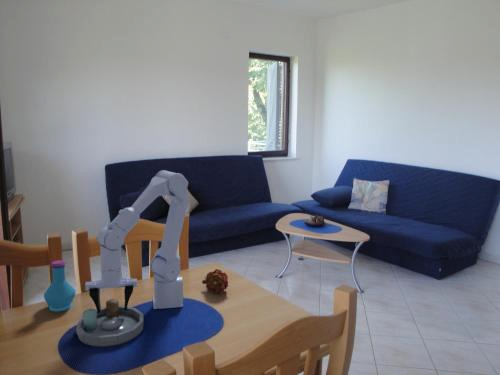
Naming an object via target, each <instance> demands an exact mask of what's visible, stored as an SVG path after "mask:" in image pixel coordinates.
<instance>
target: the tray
mask: <svg viewBox="0 0 500 375" xmlns="http://www.w3.org/2000/svg"><path fill="white" fill-rule="evenodd" d="M124 307H125V305H119V318H118V317H109V318H107V316H106V306H105V307H101V311H100V313H97V329H95V330H93V331H85V330H84V323H83V316H82V317H80V318H79V319H78V321H77V324H76V329H75V330H76V335H77V337H78V340H79V341H80V342H81V343H82V344H85V345H88V346H92V347H98V348H99V347H100V348H101V347H103V348H104V347H106V348H107V347H113V346H119V345H121V344H122V345H123V344H126V343H128V342H130V341H132V340H133V339H135V338H137V337H138V336H140V334H141V333H142V331H143V329H144V313H143V312H142V311H140V310H139V309H137V308H135V307H131V306H127V311H125V310H124Z"/></svg>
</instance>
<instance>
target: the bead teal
mask: <svg viewBox="0 0 500 375" xmlns="http://www.w3.org/2000/svg"><path fill="white" fill-rule="evenodd" d="M82 317H83V323H84V330H85V331H93V330H95V329H97V309H94V308H87V309H85V310H83V312H82Z"/></svg>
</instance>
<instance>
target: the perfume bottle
mask: <svg viewBox="0 0 500 375" xmlns="http://www.w3.org/2000/svg"><path fill="white" fill-rule="evenodd" d="M66 264H67V262H66V261H65V260H62V259H59V260H58V259H57V260H54V261H52V262H51V263H50V265H49V266H50V267H51V270H52V282H51V283H50V285H49V286H48V288H46V291H45V292H44V293H43V298H44V301H45V302H46V304H47V306H48V308H49V310H50V311H51V312H62V311H66V310H68V309H70V308H71V307H72V306H73V304H72V303H73V302H74V298H75V295H76V289H75V287H74V286H73V285H71V284H70V283H69V282H68V280H66Z"/></svg>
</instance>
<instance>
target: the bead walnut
mask: <svg viewBox="0 0 500 375" xmlns="http://www.w3.org/2000/svg"><path fill="white" fill-rule="evenodd" d="M119 306H120V301H119V299H117V298H110V299H107V301H105V307H106V316H107V318H109V317H118V318H119Z"/></svg>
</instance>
